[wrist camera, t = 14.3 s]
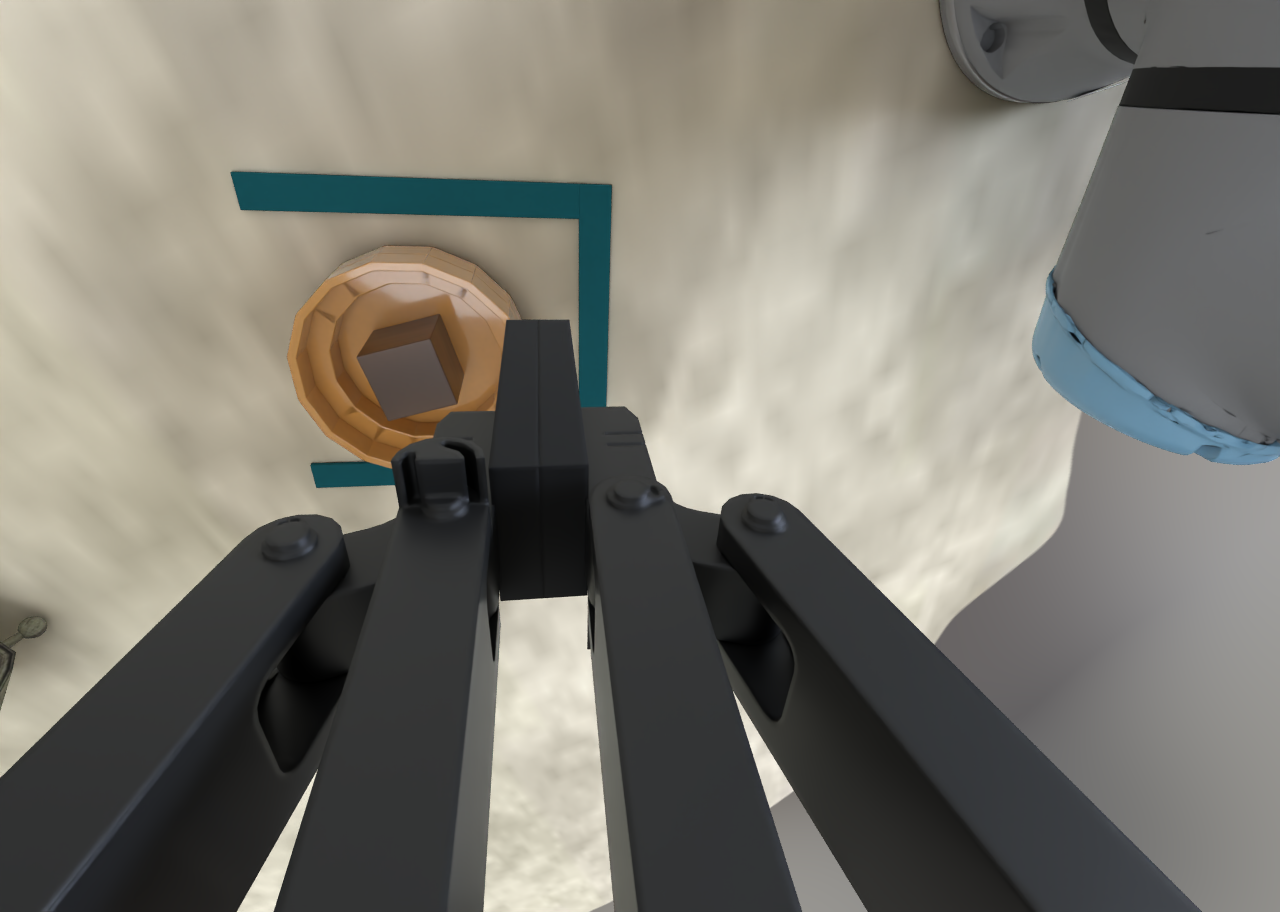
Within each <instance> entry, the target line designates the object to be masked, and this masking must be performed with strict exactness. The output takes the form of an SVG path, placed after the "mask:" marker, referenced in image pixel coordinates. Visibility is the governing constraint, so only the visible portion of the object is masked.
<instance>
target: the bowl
mask: <svg viewBox="0 0 1280 912" xmlns="http://www.w3.org/2000/svg"><path fill="white" fill-rule="evenodd" d="M437 314H440V315H441V317H442V320H443V322H444V325H445V327H446V330H447V332H448V335H449V337H450V340H451V342H452V345H453V347H454V350H455V352H456V355H457V357H458V360H459V362H460V365H461V367H462V370H463V372H464V379H463V383H462V387H461V391H460V395H459V399H458V404H456V405H452V406H448V407H444V408H440V409H436V410H432V411H428V412H424V413H420V414H416V415H412V416H408V417H404V418H400V419H396V420H392V421H388V420H387V418H386V416H385V414H384V412H383V410H382V408H381V406H380V404H379V402H378V400H377V398H376V396H375V394H374V392H373V390H372V388H371V386H370V384H369V382H368V380H367V378H366V376H365V374H364V372H363V370H362V368H361V366H360V364H359V362H358V360H357V358H356V357H357V355H358V354H359V352H360V351H361V349H362V347H363V346H364V344H365V343H366V341H367V340H368V338H369V336H370V335H371V333H372V332H373V331H374V330H377V329H381V328H385V327H389V326H393V325H397V324H401V323H405V322H409V321H413V320H417V319H421V318H425V317H429V316H433V315H437ZM506 320H522V319H521V317H520V315H519V312H518V310H517V308H516V306H515V304H514V302H513V300H512V298H511V297H510V295H509V294H508V293H507V292H505V291H504V290H503V289H502V288H501V287H500V286H499V285H498V284H497V283H496V282H495V281H494V280H492V279H491V278H490V277H489V276H488V275H487V274H486V273H485V272H484V271H483V270H482V269H481V268H479V267H478V266H476V264H473V263H471V262H468V261H466V260H463V259H461V258H459V257H456V256H454V255H451V254H449V253H446V252H444V251H441V250H439V249H437V248H434V247H423V246H383V247H380V248H378V249H375V250H373V251H371V252H368V253H366V254H363V255H361V256H359V257H356V258H354V259H351V260H349V261H346V262H344V263H342V264H341V265H340V266H339V267H338V268H337V269H336V270H335V271H334V272H333V273H332V274H331V275H330V276H329V277H328V278H327V279H326V280H325V281H324V282H323V283H322V285H321V286H320V287H319V288H318V289H317V290H316V292H315V293H314V294H313V295H312V296H311V297H310V299H309V300H308V301H307V302H306V303H305V304H304V306H303V307H302V308H301V309H300V310H299V311H298V313H297V314H296V316H295V320H294V325H293V330H292V335H291V339H290V344H289V349H288V354H287V359H288V363H289V367H290V371H291V374H292V378H293V382H294V386H295V389H296V393H297V397H298V399H299V401H300V403H301V404H302V405H303V407H304V408H305V409H306V411H307V412H308V413H309V414H310V416H311V417H312V418H313V420H314V421H315V422H316V424H317V425H318V426H319V428H320V429H321V430H322V431H323V433H324V434H325V435H326V436H327V437H328V438H330V439H331V440H333V441H335V442H336V443H338V444H339V445H341V446H342V447H344V448H345V449H347V450H348V451H350V452H351V453H353V454H354V455H356V456H357V457H359V458H360V459H362V460H364V461H366V462H370V463H373V464H377V465H380V466H384V467H387V468H391V469H392V466H391V460H392V458H393V457H394V456H395V454H396V453H397V452H398V451H399V450H401V449H403V448H404V447H406V446H408V445H409V444H412V443H415V442H418V441H421V440H424V439H429V438H433V436H434V432H435V429H436V425H437V424H438V423H439V422H440V421H441V420H442V419H443V418H444V417H446V416H447V415H448V414H449V413H450V412H459V411H495V409H496V401H497V392H498V384H499V376H500V368H501V359H502V351H503V343H504V335H505V327H506Z"/></svg>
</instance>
